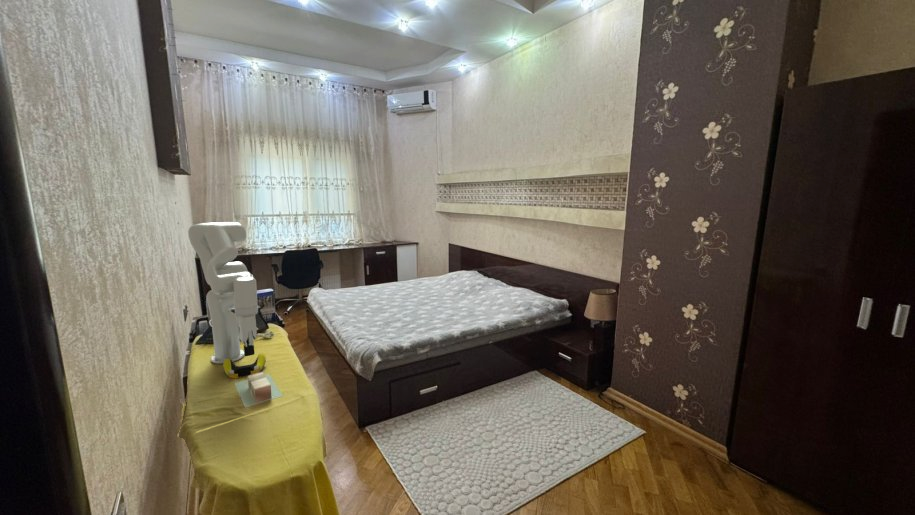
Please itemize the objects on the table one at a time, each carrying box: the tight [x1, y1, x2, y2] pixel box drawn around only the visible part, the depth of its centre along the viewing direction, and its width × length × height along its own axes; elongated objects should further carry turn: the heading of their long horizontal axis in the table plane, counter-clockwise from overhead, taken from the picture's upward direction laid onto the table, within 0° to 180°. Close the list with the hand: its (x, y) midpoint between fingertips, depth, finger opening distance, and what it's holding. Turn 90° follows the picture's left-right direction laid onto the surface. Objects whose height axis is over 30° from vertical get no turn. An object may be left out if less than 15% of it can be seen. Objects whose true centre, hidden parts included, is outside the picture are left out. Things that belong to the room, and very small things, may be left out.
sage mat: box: [234, 373, 283, 409], centre depth 136 cm, size 20×12×1 cm, turn 40°
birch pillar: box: [247, 371, 272, 403], centre depth 133 cm, size 5×5×12 cm
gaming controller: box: [222, 353, 267, 379], centre depth 148 cm, size 15×6×10 cm
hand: (249, 354), depth 141 cm, fingers closed
